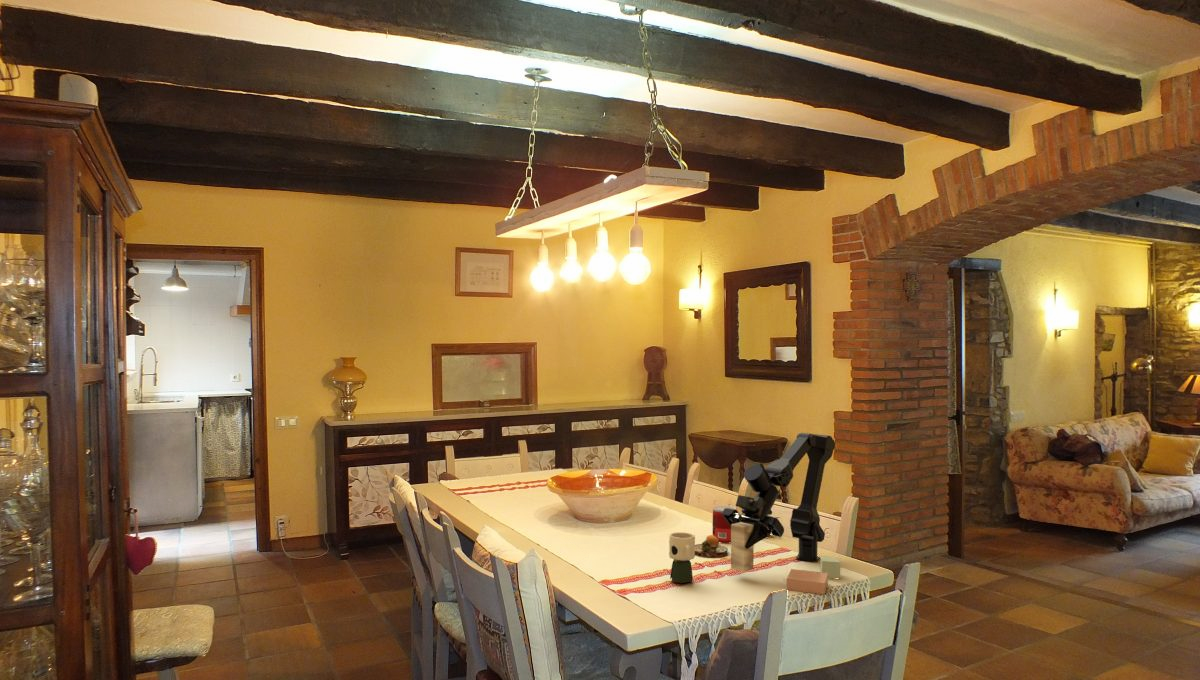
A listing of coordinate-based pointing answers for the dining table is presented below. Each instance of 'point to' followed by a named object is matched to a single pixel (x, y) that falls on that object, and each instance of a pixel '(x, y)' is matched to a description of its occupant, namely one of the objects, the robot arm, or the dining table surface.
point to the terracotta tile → (807, 581)
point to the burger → (711, 548)
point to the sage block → (830, 566)
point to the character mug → (681, 556)
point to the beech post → (741, 547)
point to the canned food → (721, 525)
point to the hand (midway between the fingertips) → (739, 546)
